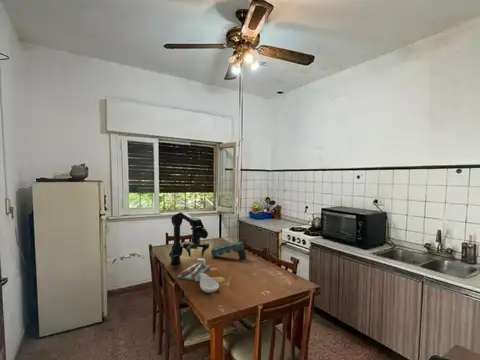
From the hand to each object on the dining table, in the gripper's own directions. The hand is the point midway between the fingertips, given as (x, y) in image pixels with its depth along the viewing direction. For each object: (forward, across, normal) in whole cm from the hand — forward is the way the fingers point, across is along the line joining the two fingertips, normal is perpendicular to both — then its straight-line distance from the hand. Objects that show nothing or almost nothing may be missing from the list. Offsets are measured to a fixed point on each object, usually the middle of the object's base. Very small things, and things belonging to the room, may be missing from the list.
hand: (196, 257), depth 193 cm
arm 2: (+10, +1, -2) cm, 10 cm away
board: (+12, -1, +1) cm, 12 cm away
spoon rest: (+12, +13, -23) cm, 29 cm away
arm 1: (+10, -4, -1) cm, 11 cm away
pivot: (+10, +1, +12) cm, 16 cm away
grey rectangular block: (+10, +1, +11) cm, 15 cm away
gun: (+12, +19, +38) cm, 44 cm away
